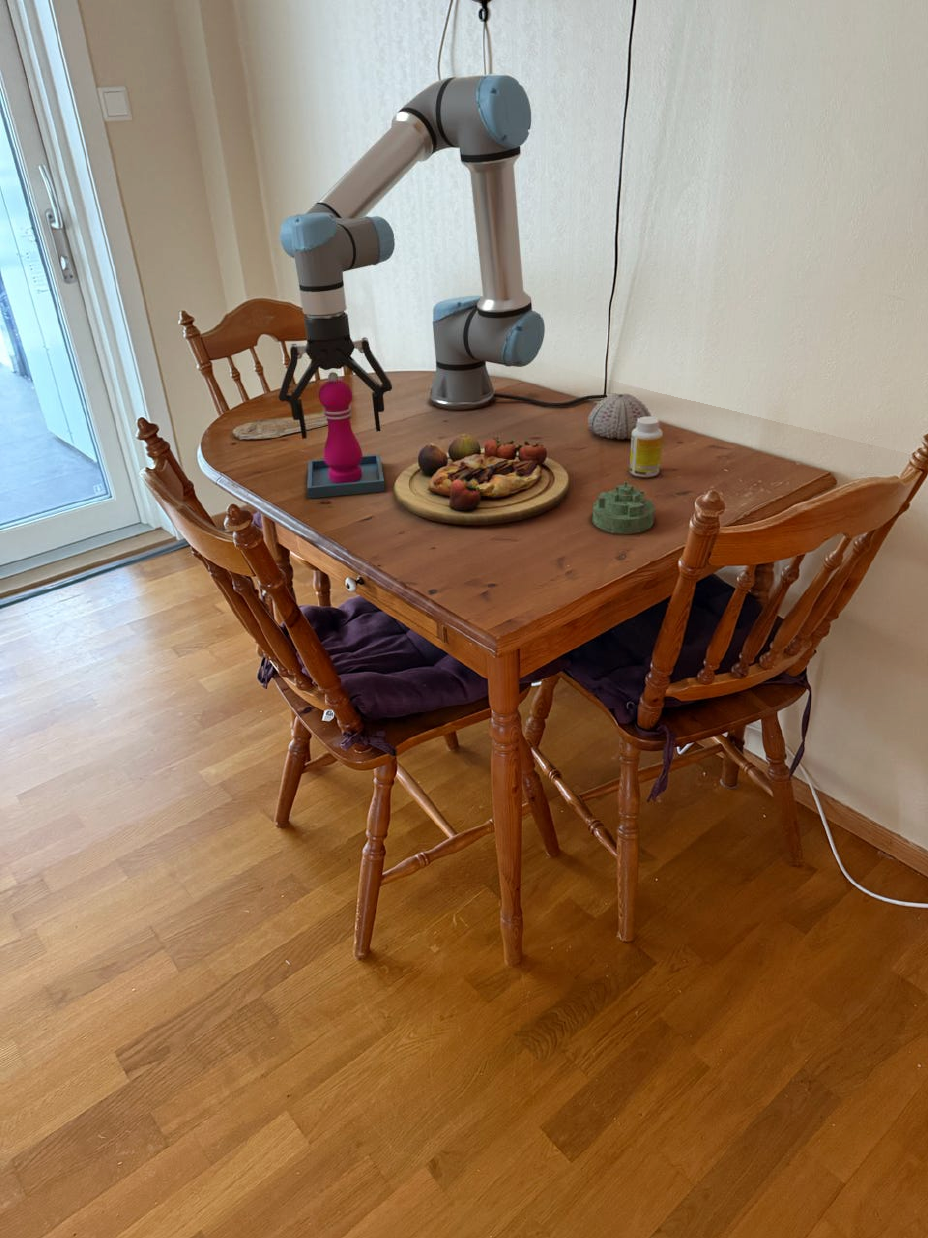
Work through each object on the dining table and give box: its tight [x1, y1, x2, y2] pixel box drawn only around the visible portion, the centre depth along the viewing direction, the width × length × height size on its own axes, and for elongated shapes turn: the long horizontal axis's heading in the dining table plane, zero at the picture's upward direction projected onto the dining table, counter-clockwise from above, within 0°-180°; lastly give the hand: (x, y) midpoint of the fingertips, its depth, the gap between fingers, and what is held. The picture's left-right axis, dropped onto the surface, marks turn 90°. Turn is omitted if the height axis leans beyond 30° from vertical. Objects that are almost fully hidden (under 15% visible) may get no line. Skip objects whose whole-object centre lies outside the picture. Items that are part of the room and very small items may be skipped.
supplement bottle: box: [629, 416, 664, 478], centre depth 154 cm, size 6×6×10 cm
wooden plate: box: [393, 433, 571, 526], centre depth 150 cm, size 32×32×8 cm
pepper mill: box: [318, 371, 363, 484], centre depth 154 cm, size 7×7×20 cm
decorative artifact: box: [592, 480, 656, 535], centre depth 137 cm, size 10×7×10 cm
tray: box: [306, 453, 386, 500], centre depth 159 cm, size 14×14×2 cm
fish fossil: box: [232, 412, 328, 440], centre depth 187 cm, size 26×10×1 cm, turn 123°
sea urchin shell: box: [587, 393, 652, 440], centre depth 173 cm, size 13×14×8 cm
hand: (341, 432), depth 155 cm, fingers open, 13 cm apart
